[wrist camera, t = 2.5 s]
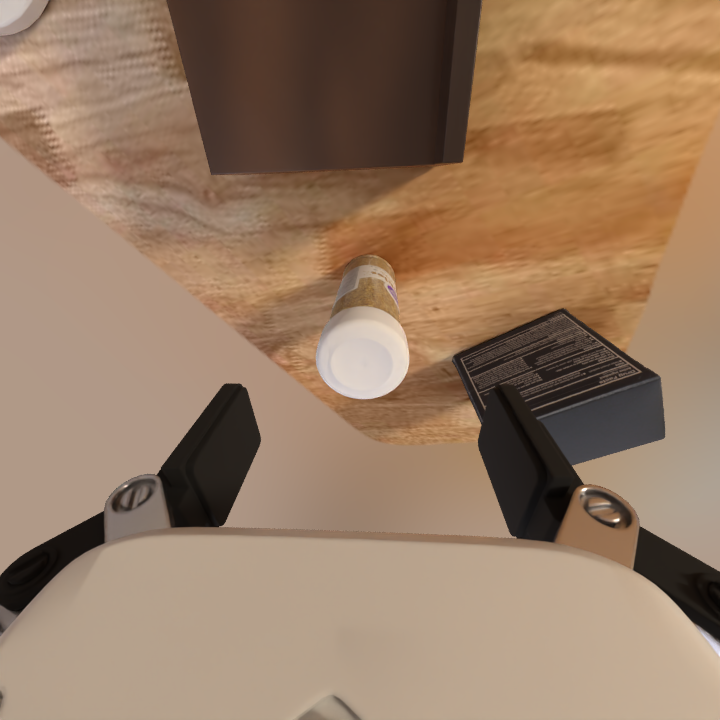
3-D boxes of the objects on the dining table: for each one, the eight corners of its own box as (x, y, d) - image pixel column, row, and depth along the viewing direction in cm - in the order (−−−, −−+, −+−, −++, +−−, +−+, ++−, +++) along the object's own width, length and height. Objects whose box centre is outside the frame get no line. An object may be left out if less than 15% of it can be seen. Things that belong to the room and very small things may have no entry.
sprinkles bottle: (406, 281, 25) (430, 368, 14) (367, 315, 27) (361, 416, 16) (369, 240, 24) (362, 300, 12) (330, 279, 26) (294, 363, 14)
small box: (472, 401, 32) (510, 488, 23) (449, 356, 29) (482, 435, 20) (579, 360, 29) (670, 444, 20) (565, 305, 26) (664, 373, 17)
